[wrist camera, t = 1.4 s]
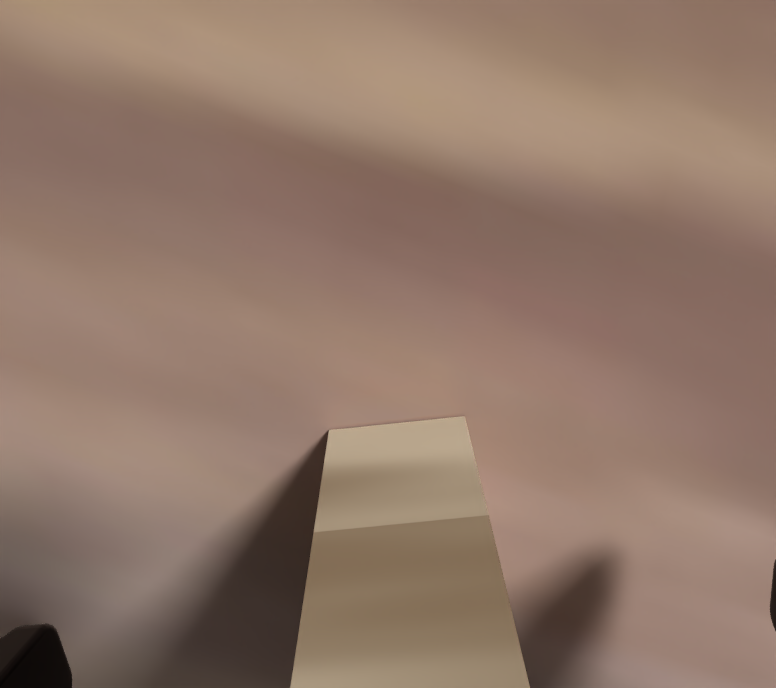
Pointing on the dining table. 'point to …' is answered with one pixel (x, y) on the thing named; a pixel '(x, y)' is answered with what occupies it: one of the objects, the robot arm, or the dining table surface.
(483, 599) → the birch plate
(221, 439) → the dining table surface
